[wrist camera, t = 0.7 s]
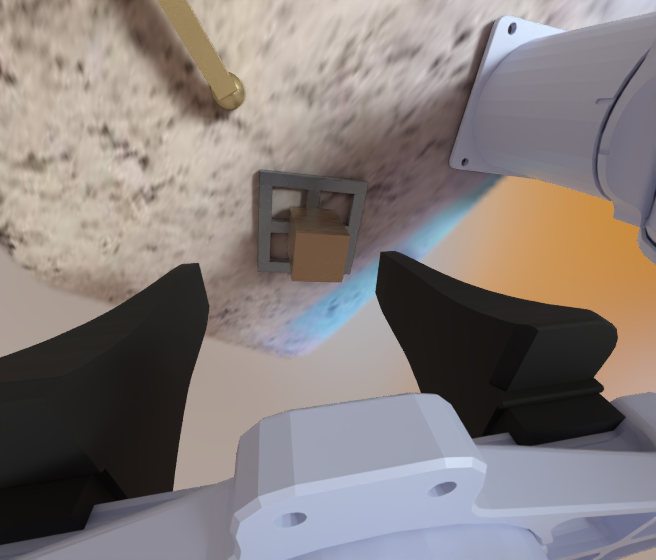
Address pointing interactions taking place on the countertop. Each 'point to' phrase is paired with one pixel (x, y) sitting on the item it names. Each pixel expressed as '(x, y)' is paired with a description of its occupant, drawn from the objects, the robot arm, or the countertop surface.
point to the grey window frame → (310, 227)
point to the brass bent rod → (204, 54)
